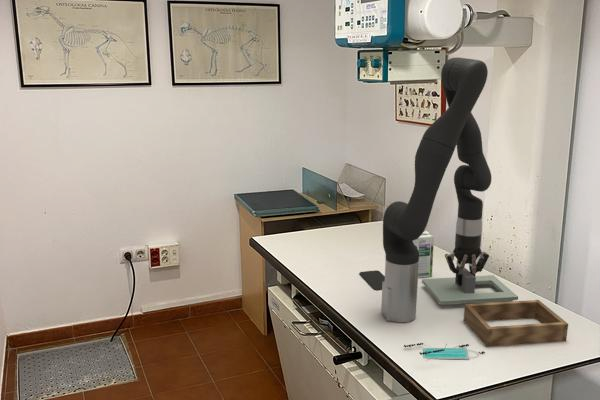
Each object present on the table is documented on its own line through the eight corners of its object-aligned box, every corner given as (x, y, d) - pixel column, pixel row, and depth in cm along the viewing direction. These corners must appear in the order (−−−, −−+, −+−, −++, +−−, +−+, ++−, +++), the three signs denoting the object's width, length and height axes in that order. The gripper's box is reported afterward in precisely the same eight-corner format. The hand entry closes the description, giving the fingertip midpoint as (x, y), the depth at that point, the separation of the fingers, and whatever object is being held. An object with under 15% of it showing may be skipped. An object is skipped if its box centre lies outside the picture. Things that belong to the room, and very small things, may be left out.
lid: (440, 304, 175) (441, 285, 173) (421, 282, 191) (422, 264, 189) (517, 299, 177) (519, 281, 176) (493, 277, 194) (494, 260, 192)
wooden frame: (486, 346, 153) (488, 329, 152) (463, 320, 168) (464, 304, 166) (566, 341, 156) (568, 323, 155) (536, 315, 171) (538, 299, 169)
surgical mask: (417, 355, 142) (398, 335, 151) (416, 371, 143) (397, 350, 152) (491, 343, 148) (469, 324, 157) (490, 358, 149) (468, 339, 158)
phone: (374, 289, 188) (358, 272, 202) (374, 292, 188) (358, 274, 202) (396, 287, 190) (378, 270, 204) (396, 289, 190) (378, 272, 204)
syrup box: (416, 278, 197) (418, 237, 194) (409, 272, 203) (411, 231, 199) (432, 276, 199) (434, 235, 195) (424, 270, 204) (426, 230, 201)
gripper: (485, 226, 183) (481, 278, 188) (441, 228, 182) (438, 281, 186) (496, 234, 176) (491, 288, 181) (450, 236, 174) (447, 290, 179)
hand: (464, 284), depth 183 cm, fingers closed on lid, 3 cm apart
